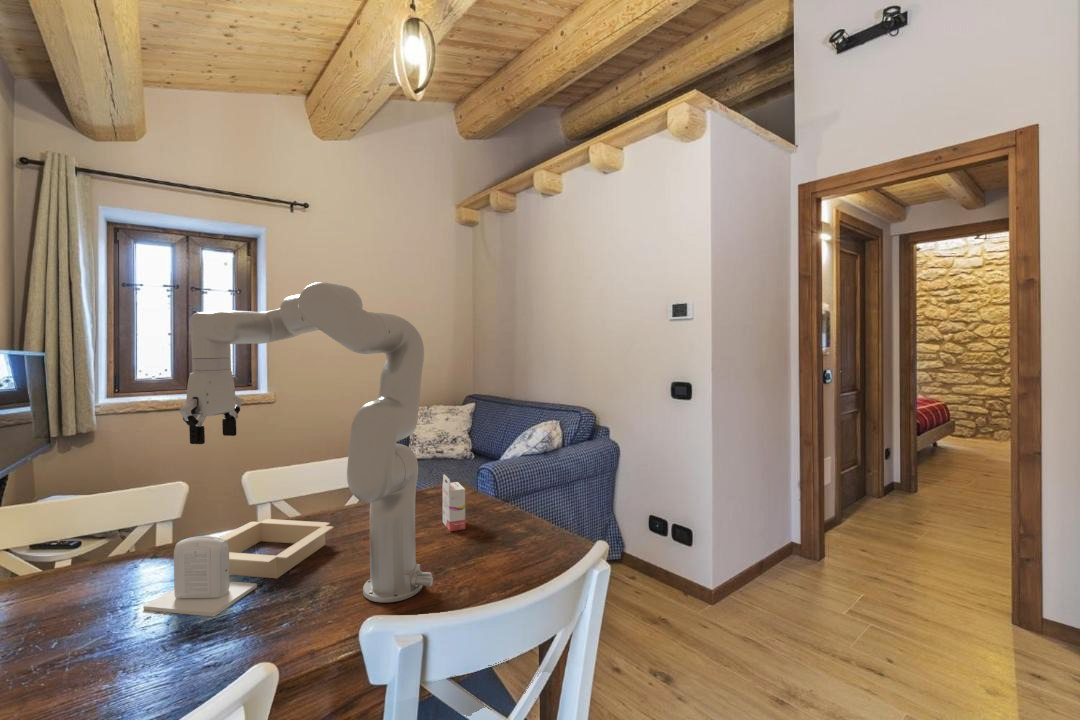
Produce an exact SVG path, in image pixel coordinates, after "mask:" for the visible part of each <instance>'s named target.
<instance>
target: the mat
mask: <svg viewBox="0 0 1080 720" xmlns="http://www.w3.org/2000/svg"><path fill="white" fill-rule="evenodd" d="M257 588H258V583H254V582H252V583H251V582H241V581H240V582H239V581H230V586H229V592H228V593H227V594H226V595H225V596H223V597H217V598H176V597H175V595H174V588H173V589H171V590H170V591H167V592H166V593H164V594H163V595H161V596H159V597H157V598H155V599H154V600H152V601H150V602H149V603H147V604H144V605H143V611H148V610H149V611H150V612H160V613H168V614H169V613H171V614H180V615H181V614H182V615H193V616H202V617H212V618H214V617H216V616H217V615H219V614H220V613H222V612H224V610H226V609H228V608H229V607H230V606H232V605H234V604H235V603H236V602H238V601H239V600H241V599H242V598H243V597H245V596H246V595H248V594H249V593H251V592H252V591H254V590H255V589H257Z"/></svg>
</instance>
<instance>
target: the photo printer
mask: <svg viewBox="0 0 1080 720" xmlns="http://www.w3.org/2000/svg"><path fill="white" fill-rule="evenodd" d="M173 574H174V575H173V579H174V580H173V583H174V587H173V589H174V595H175V597H176V598H217V597H223V596H225V595H226V594H227V593H228V592H229V586H230V579H231V578H230V575H229V544H228V541H227V540H224V539H222V538H219V537H217V536H211V535H199V536H198V535H197V536H192V537H191V536H190V537H187V538H185V539H181V540H180V541H178V542H176V544H175V547H174V550H173Z"/></svg>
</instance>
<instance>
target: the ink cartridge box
mask: <svg viewBox="0 0 1080 720" xmlns="http://www.w3.org/2000/svg"><path fill="white" fill-rule="evenodd" d="M442 475H443V477H442V489H441V490H442V523H443V525H444V526H445V527H446V529H448V531H449V532H454V531H461V530H465V529H466V488H465V487H464V486H463V485H461V484H460V482H459V481H455V482H451V479H450V478H449V477H448V476H447V474H445V473H443V474H442Z"/></svg>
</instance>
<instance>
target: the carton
mask: <svg viewBox="0 0 1080 720" xmlns="http://www.w3.org/2000/svg"><path fill="white" fill-rule="evenodd" d="M330 524H331V522H325V521H323V522H322V521H309V520H306V521H305V520H295V519H293V520H291V519H279V518H276V519H275V518H274V519H273V518H265V519H263V520H261V521H249V522H248V523H246V524H244V525H241V526H240V527H237V528H235V529H234V530H231V531H230V532H227V533H225V534H224V535H221V536H220V537H218V538H222V539H224V540H227V541H228V544H229V576H230V575H231V576H244V577H253V578H266V579H267V578H268V579H279V578H280V577H281V576H282V575H284V574H286V573H287V572H288V571H290V570H291V569H292V568H294V567H295V566H298V565H299V564H300V563H301V562H303V561H304V560H305V559H307V558H308V557H310V556H311V555H312V554H314V553H315V552H317V551H318V550H319V549H321V548H323V547H324V546H325V545H326V534H327V533H328V532H330V531H331V530H332V529H334V528H335V527H334V526H331V525H330ZM329 525H330V526H329ZM260 542H266V543H284V544H292V545H291V546H289V547H286V549H284V550H283V551H281V552H279V553H278V554H276V555H272V554H271V555H270V554H259V553H258V554H257V553H243V552H244V551H246V550H247V549H249V548H251V547H253V546H255V545H256V544H258V543H260Z"/></svg>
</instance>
